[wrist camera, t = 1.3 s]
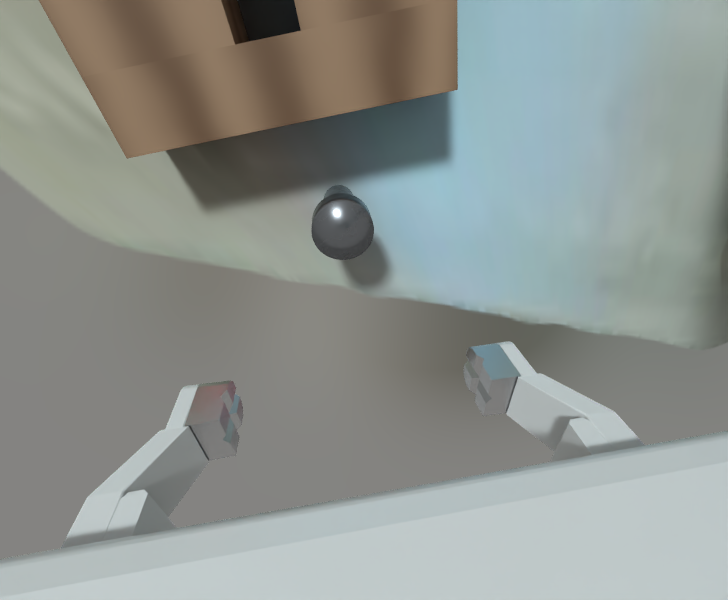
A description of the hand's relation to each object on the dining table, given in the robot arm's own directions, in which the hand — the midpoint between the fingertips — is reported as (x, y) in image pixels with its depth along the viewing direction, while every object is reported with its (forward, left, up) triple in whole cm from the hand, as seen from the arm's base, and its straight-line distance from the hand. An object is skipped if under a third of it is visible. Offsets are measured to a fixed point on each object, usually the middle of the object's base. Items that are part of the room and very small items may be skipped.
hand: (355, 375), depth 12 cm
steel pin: (0, +2, -25) cm, 25 cm away
